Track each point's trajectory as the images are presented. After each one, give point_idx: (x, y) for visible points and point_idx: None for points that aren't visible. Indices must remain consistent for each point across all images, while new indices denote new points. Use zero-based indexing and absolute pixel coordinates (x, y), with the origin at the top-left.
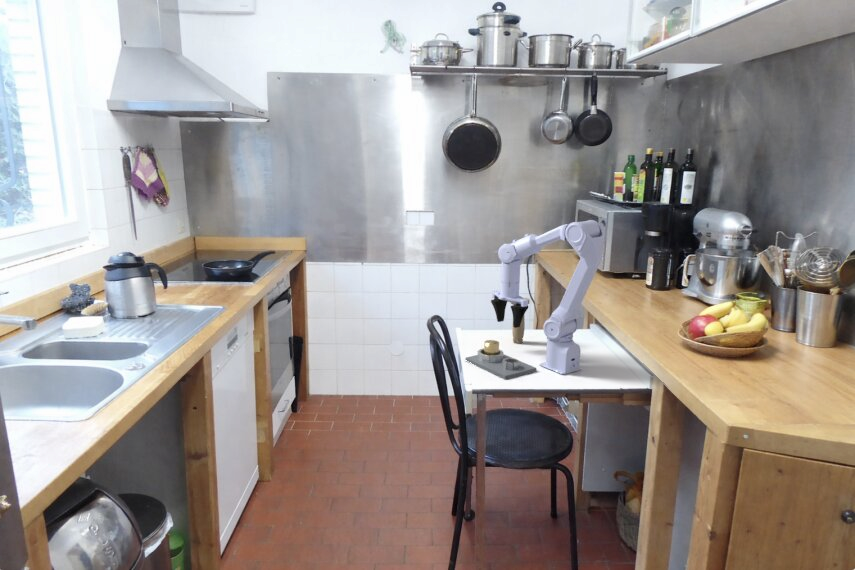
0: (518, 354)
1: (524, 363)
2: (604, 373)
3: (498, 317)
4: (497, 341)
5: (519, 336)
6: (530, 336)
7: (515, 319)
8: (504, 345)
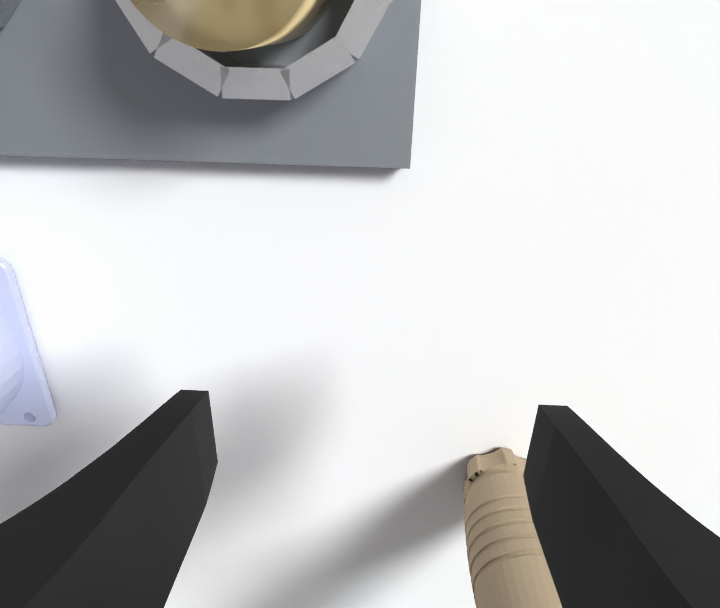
0: (293, 306)
1: (6, 146)
2: None
3: (564, 448)
4: (211, 44)
5: (472, 500)
6: None
7: (84, 470)
8: (516, 363)
